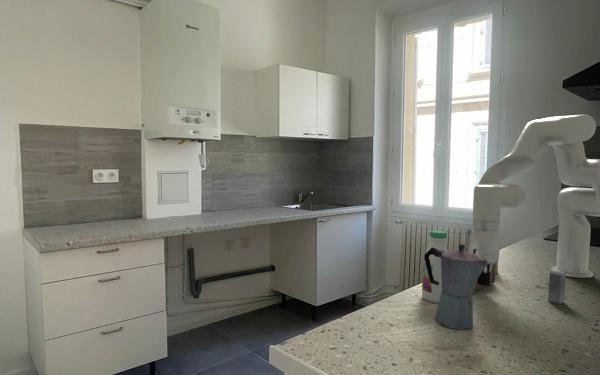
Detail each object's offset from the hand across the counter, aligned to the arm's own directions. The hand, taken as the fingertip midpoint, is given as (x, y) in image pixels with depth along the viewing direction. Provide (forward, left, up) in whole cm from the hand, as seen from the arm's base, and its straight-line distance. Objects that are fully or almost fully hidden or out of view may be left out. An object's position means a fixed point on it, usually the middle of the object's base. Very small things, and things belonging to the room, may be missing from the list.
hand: (483, 284), depth 121 cm
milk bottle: (+17, -5, -3) cm, 18 cm away
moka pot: (+28, +8, -3) cm, 29 cm away
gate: (-3, -3, -2) cm, 5 cm away
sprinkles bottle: (-25, -12, -3) cm, 28 cm away
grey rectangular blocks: (-11, +4, -3) cm, 12 cm away
